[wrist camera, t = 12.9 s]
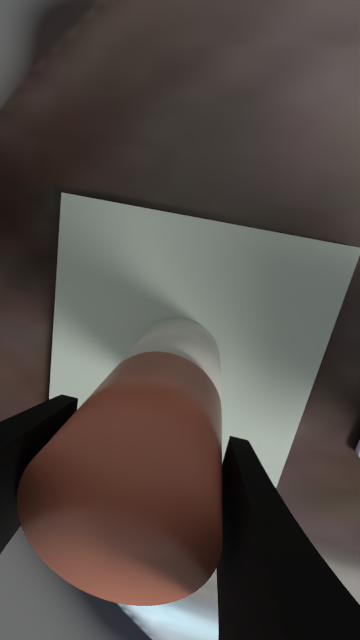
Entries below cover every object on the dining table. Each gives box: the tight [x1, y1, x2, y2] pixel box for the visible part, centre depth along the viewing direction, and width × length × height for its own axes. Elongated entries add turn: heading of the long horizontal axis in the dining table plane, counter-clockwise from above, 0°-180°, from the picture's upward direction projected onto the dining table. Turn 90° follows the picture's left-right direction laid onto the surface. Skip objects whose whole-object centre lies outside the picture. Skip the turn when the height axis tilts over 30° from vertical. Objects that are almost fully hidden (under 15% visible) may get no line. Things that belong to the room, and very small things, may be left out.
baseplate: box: [49, 192, 360, 488], centre depth 17 cm, size 16×16×1 cm
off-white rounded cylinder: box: [116, 318, 222, 406], centre depth 14 cm, size 5×5×5 cm
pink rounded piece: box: [17, 351, 222, 606], centre depth 9 cm, size 5×5×5 cm
